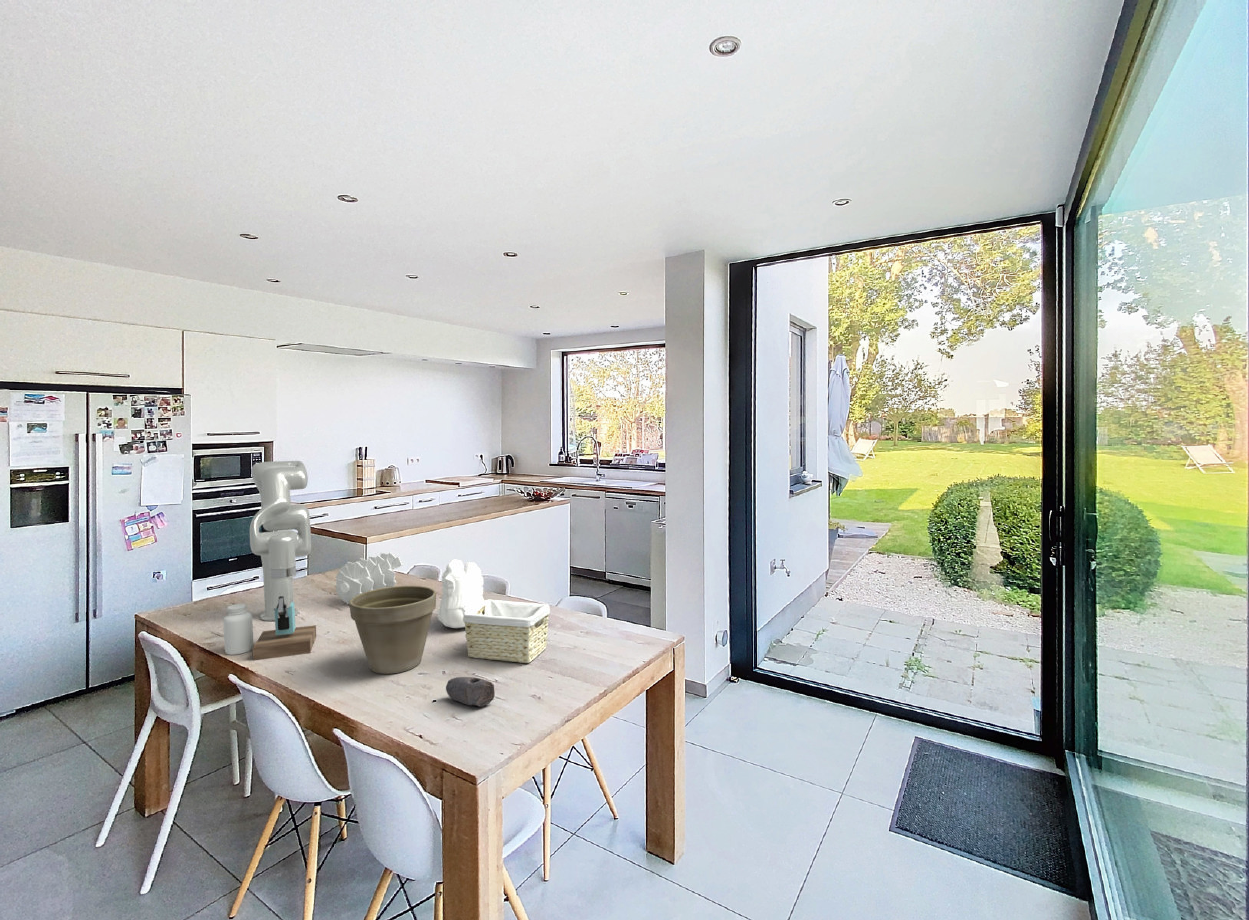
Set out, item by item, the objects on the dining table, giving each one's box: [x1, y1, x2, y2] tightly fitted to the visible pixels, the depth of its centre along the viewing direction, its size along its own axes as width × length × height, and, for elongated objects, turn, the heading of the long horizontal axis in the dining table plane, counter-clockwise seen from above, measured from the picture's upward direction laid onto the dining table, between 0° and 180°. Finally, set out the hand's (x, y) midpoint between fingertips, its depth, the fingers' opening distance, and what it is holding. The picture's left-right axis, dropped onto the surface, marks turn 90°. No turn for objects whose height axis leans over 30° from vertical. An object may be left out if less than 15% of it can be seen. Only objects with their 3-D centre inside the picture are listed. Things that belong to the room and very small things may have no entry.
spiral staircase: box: [334, 551, 403, 605], centre depth 253 cm, size 18×18×25 cm
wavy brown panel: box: [252, 625, 317, 661], centre depth 199 cm, size 16×16×4 cm
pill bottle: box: [222, 603, 254, 656], centre depth 196 cm, size 8×8×15 cm
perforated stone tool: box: [445, 676, 496, 708], centre depth 159 cm, size 15×5×7 cm, turn 62°
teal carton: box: [274, 601, 296, 635], centre depth 198 cm, size 5×5×9 cm
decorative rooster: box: [437, 559, 485, 629], centre depth 222 cm, size 25×16×25 cm, turn 154°
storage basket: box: [463, 598, 551, 664], centre depth 193 cm, size 24×16×15 cm
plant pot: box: [348, 585, 437, 675], centre depth 184 cm, size 25×25×22 cm
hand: (285, 626), depth 198 cm, fingers closed on teal carton, 5 cm apart
